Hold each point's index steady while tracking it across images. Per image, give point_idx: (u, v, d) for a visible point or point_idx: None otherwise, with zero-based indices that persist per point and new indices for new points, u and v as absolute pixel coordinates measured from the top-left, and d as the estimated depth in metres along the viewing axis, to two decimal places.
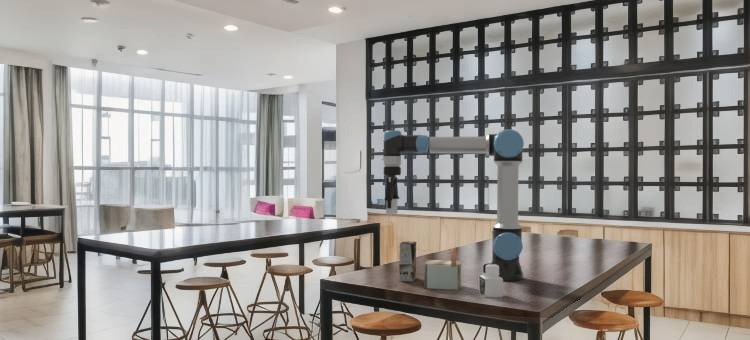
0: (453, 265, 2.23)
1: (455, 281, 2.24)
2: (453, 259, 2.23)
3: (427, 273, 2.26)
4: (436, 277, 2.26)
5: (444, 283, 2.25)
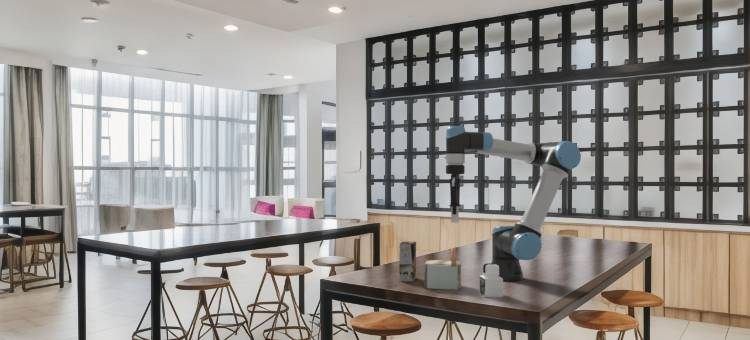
0: (453, 265, 2.23)
1: (455, 281, 2.24)
2: (453, 259, 2.23)
3: (427, 273, 2.26)
4: (436, 277, 2.26)
5: (444, 283, 2.25)
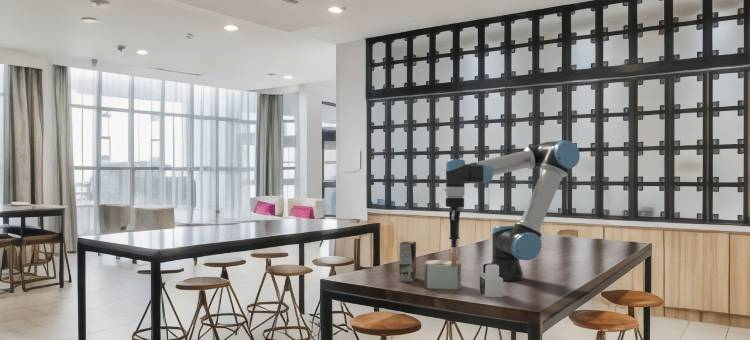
0: (453, 265, 2.23)
1: (455, 281, 2.24)
2: (453, 259, 2.23)
3: (427, 273, 2.26)
4: (436, 277, 2.26)
5: (444, 283, 2.25)
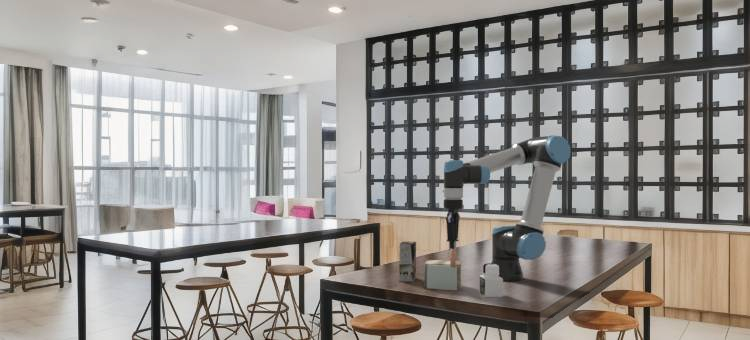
0: (452, 266, 2.22)
1: (454, 282, 2.23)
2: (452, 259, 2.22)
3: (427, 273, 2.26)
4: (436, 277, 2.25)
5: (443, 284, 2.24)
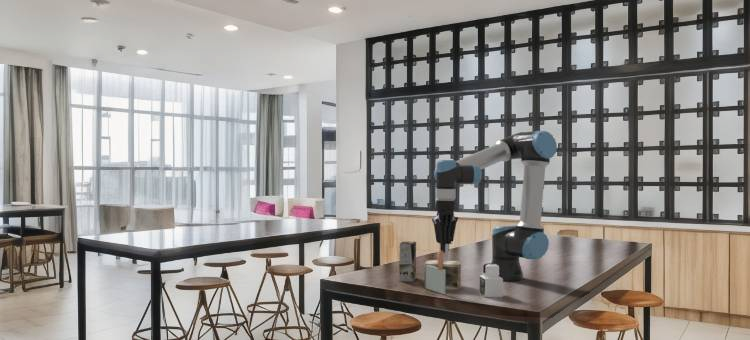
0: (438, 268, 2.16)
1: (442, 285, 2.16)
2: (438, 262, 2.16)
3: (425, 273, 2.26)
4: (431, 278, 2.23)
5: (435, 286, 2.20)
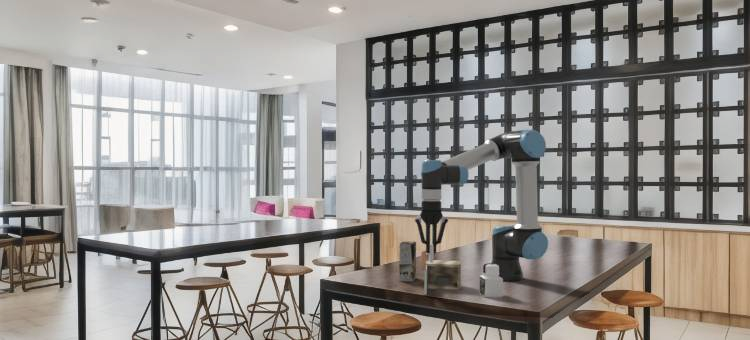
0: None
1: (424, 285, 2.15)
2: None
3: None
4: None
5: None
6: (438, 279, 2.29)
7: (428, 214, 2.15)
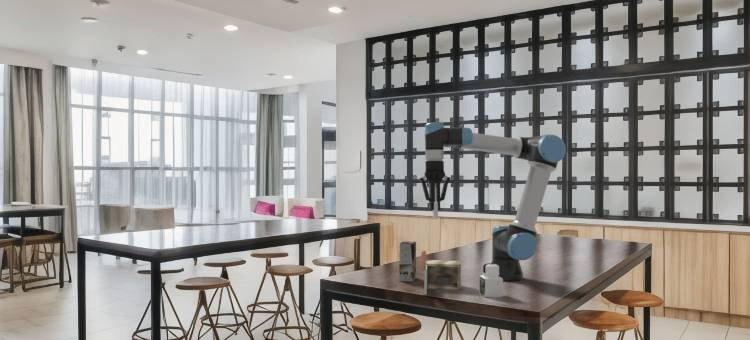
0: None
1: (424, 285, 2.15)
2: None
3: None
4: None
5: None
6: (438, 279, 2.29)
7: (432, 173, 2.31)
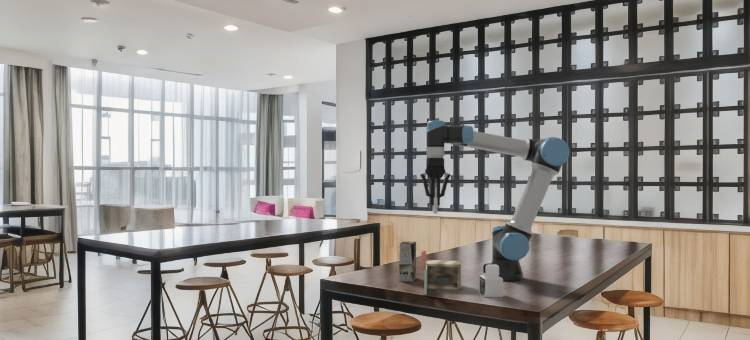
0: None
1: (424, 285, 2.15)
2: None
3: None
4: None
5: None
6: (438, 279, 2.29)
7: (432, 170, 2.37)
